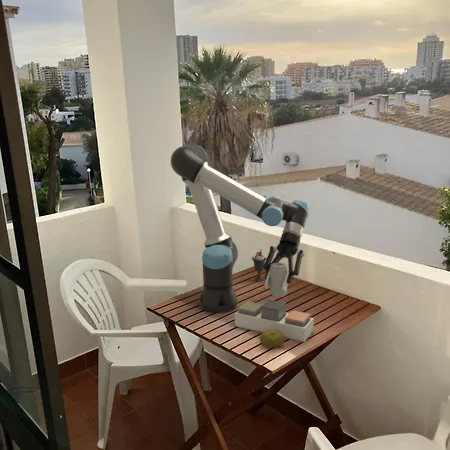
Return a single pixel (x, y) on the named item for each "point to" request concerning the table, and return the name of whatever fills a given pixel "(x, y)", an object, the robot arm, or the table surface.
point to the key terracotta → (297, 318)
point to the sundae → (259, 264)
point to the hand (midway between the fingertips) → (274, 288)
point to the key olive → (250, 308)
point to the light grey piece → (274, 326)
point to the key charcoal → (273, 310)
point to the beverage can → (277, 279)
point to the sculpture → (272, 334)
